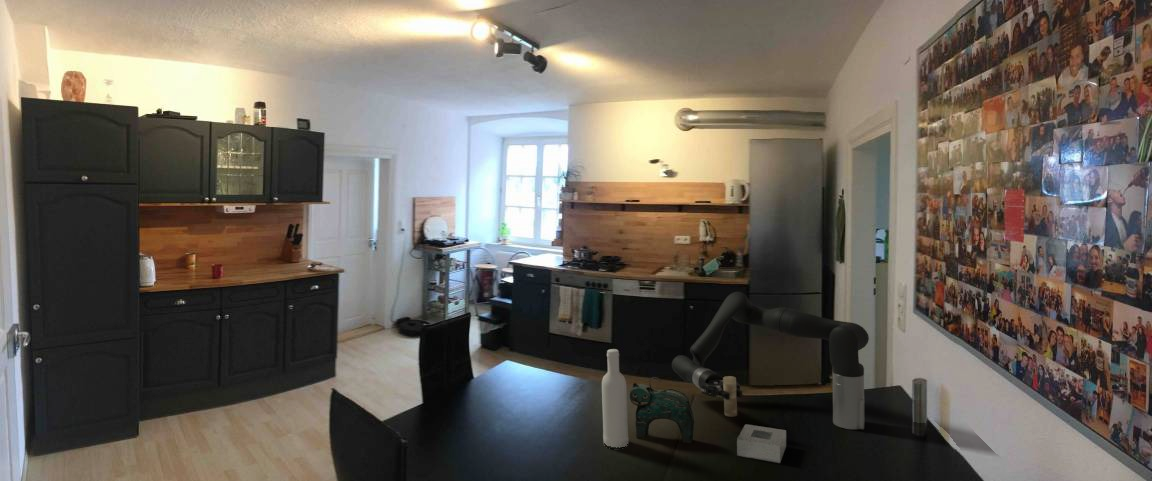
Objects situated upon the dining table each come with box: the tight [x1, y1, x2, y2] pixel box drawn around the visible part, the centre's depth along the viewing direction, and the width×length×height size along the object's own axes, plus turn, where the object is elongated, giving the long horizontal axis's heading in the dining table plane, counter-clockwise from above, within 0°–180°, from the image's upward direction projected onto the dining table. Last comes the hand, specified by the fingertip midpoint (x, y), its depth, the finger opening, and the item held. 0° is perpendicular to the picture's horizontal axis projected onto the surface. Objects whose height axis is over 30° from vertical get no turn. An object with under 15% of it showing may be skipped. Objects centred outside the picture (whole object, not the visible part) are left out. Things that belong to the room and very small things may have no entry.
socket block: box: [736, 424, 787, 464], centre depth 167 cm, size 12×12×5 cm
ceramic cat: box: [629, 376, 695, 444], centre depth 178 cm, size 20×6×20 cm, turn 70°
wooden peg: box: [722, 375, 738, 417], centre depth 181 cm, size 4×4×12 cm
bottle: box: [601, 348, 629, 448], centre depth 175 cm, size 8×8×30 cm
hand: (734, 395), depth 179 cm, fingers closed on wooden peg, 4 cm apart
